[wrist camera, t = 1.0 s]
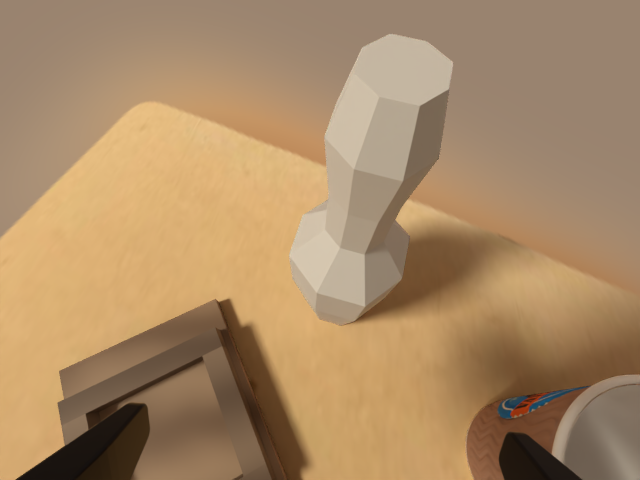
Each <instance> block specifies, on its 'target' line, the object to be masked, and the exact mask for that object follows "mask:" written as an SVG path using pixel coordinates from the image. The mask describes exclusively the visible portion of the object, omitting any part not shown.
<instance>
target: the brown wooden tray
mask: <svg viewBox="0 0 640 480" xmlns="http://www.w3.org/2000/svg"><path fill="white" fill-rule="evenodd" d="M59 373H60V379H61V384H62V390H63V396H64V400H62V401H60V402H58V408H59V414H60V420H61V425H62V431H63V437H64V443H65V445H67V444H68V443H70V442H71V441H73V440H74V439H76V438H77V437H79V436H80V435H81V434H83V433H84V432H86V431H87V430H89V429H90V428H92V427H93V426H95V425H96V424H98V423H99V422H101V421H102V420H103V419H105V418H106V417H108V416H109V415H111V414H112V413H114V412H115V411H117V410H118V409H120V408H121V407H122V406H124V405H125V404H127V403H130V402H137V403H145V404H146V405H147V407H148V414H149V422H150V433H149V437H148V440H147V442H146V444H145V447H144V449H143V452H142V454H141V456H140V459H139V461H138V463H137V466H136V468H135V470H134V473H133V475H132V477H131V480H287V477H286V474H285V472H284V469H283V467H282V464H281V462H280V459H279V456H278V454H277V451H276V449H275V446H274V443H273V441H272V438H271V436H270V433H269V431H268V428H267V425H266V423H265V420H264V418H263V415H262V413H261V410H260V407H259V405H258V402H257V400H256V397H255V394H254V392H253V389H252V387H251V384H250V382H249V379H248V376H247V374H246V371H245V369H244V366H243V364H242V361H241V358H240V356H239V353H238V351H237V348H236V345H235V343H234V340H233V338H232V335H231V333H230V330H229V327H228V325H227V322H226V320H225V317H224V314H223V312H222V309H221V307H220V304H219V302H218V301H217V300H216V299H215V300H212V301H210V302H208V303H206V304H204V305H202V306H199V307H197V308H195V309H193V310H191V311H188V312H186V313H184V314H182V315H180V316H178V317H175V318H173V319H171V320H169V321H167V322H165V323H162V324H160V325H158V326H156V327H154V328H152V329H149V330H147V331H145V332H143V333H141V334H139V335H136V336H134V337H132V338H130V339H128V340H126V341H123V342H121V343H119V344H117V345H115V346H113V347H110V348H108V349H106V350H104V351H102V352H100V353H97V354H95V355H93V356H91V357H89V358H87V359H84V360H82V361H80V362H78V363H76V364H74V365H71V366H69V367H67V368H65V369H63V370H61V371H59Z"/></svg>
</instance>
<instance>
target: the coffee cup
mask: <svg viewBox="0 0 640 480" xmlns="http://www.w3.org/2000/svg"><path fill="white" fill-rule="evenodd" d="M636 384H640V375H621V376H615V377H611V378H608V379H605V380H602V381H600V382H598V383H596V384H594V385H592V386H586V387H580V388H573V389H566V390H560V391H553V392H547V393H540V394H534V395H527V396H520V397H514V398H509V399H505V400H502V401H496V402H495V403H493V404H490V405H488V406H486V407H485V408H483V409H481V410H480V411H479V412H478V413H477V414H476V415H475V417H474V418H473V419H472V421H471V423H470V425H469V428H468V430H467V436H466V457H467V462H468V466H469V469H470V472H471V474H472V476H473V478H474V480H504V478H503V475H502V472H501V469H500V466H499V459H498V458H499V452H500V449H501V446H502V443H503V440H504V437H505V435H506V433H507V432H510V431H511V432H523V433H526V434H527V435H529V436H530V437H531V438H532V439H534V440H535V441H536V442H537V443H538V444H540V445H541V446H542V447H543V448H545V449H546V450H547V451H548V452H549V453H551V454H552V455H553V456H554V457H556V458H557V459H558V460H559V461H560V462H562V463H563V464H564V465H565V466H567V467H568V468H569V469H570V470H571V471H573V472H574V473H575V474H576V475H577V476H579V477H580V478H581V479H582V480H640V385H636Z"/></svg>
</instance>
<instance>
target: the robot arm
mask: <svg viewBox="0 0 640 480" xmlns="http://www.w3.org/2000/svg"><path fill="white" fill-rule="evenodd" d="M149 433H150V422H149V414H148V407H147V405H146V404H145V403H137V402H130V403H127V404H125V405H124V406H122V407H121V408H120V409H118V410H117V411H115V412H114V413H112V414H111V415H109V416H108V417H106V418H105V419H103V420H102V421H101V422H99V423H98V424H96V425H95V426H93V427H92V428H90V429H89V430H87V431H86V432H84V433H83V434H81V435H80V436H79V437H77V438H76V439H74V440H73V441H71V442H70V443H68V444H67V445H65V446H64V447H62V448H61V449H60V450H58V451H57V452H55V453H54V454H52V455H51V456H49V457H48V458H46V459H45V460H43V461H42V462H41V463H39V464H38V465H36V466H35V467H33V468H32V469H30V470H29V471H27V472H26V473H24V474H23V475H22V476H20V477H19V478H17V479H16V480H131V477H132V475H133V473H134V470H135V468H136V466H137V463H138V461H139V459H140V456H141V454H142V452H143V449H144V447H145V444H146V442H147V440H148V437H149ZM498 459H499V466H500V469H501V472H502V475H503V478H504V480H582V479H581V478H580V477H579V476H577V475H576V474H575V473H574V472H573V471H571V470H570V469H569V468H568V467H567V466H565V465H564V464H563V463H562V462H560V461H559V460H558V459H557V458H556V457H554V456H553V455H552V454H551V453H549V452H548V451H547V450H546V449H545V448H543V447H542V446H541V445H540V444H538V443H537V442H536V441H535V440H534V439H532V438H531V437H530V436H529V435H527V434H526V433H523V432H511V431H510V432H507V433H506V435H505V437H504V440H503V443H502V446H501V449H500V452H499V458H498Z"/></svg>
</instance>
